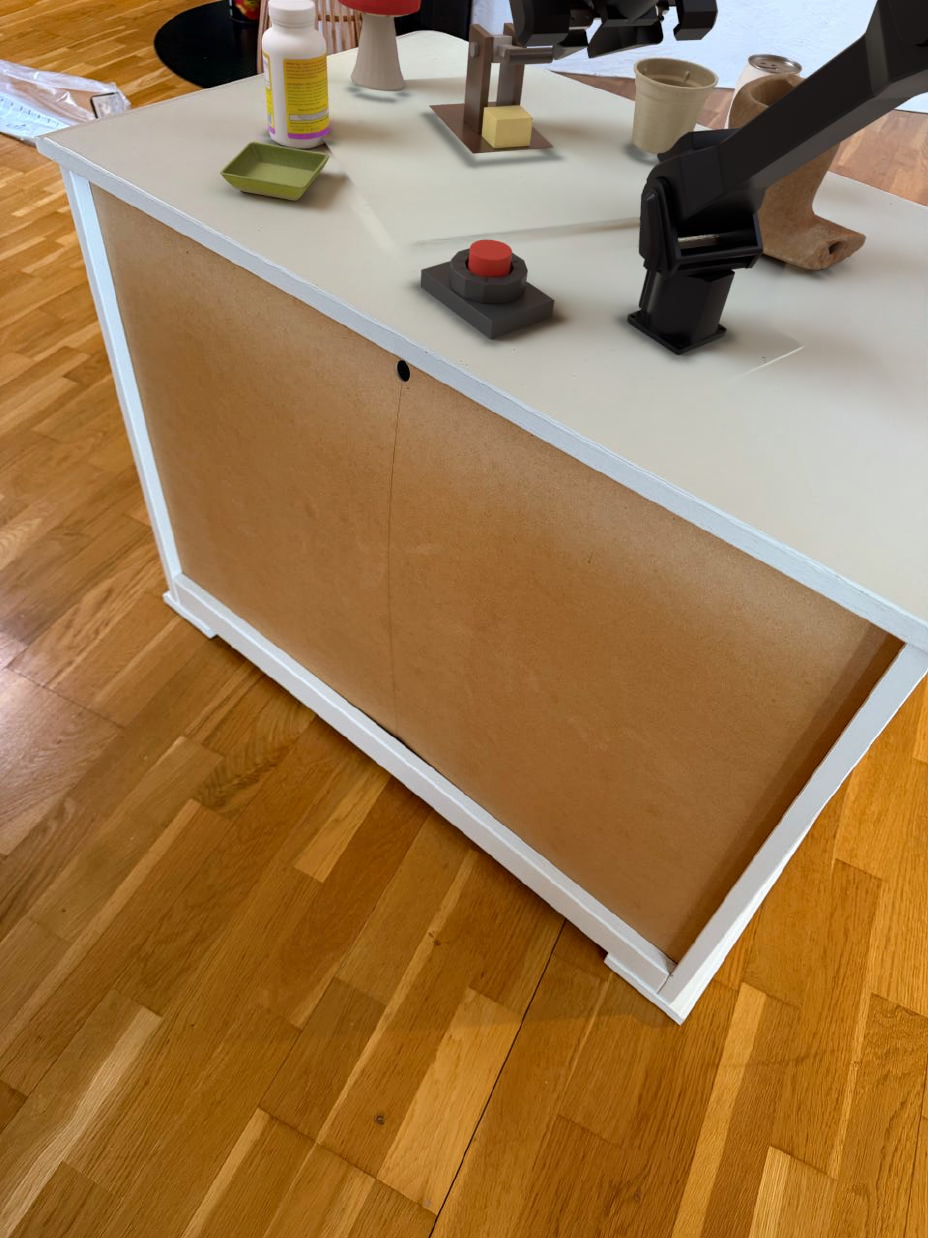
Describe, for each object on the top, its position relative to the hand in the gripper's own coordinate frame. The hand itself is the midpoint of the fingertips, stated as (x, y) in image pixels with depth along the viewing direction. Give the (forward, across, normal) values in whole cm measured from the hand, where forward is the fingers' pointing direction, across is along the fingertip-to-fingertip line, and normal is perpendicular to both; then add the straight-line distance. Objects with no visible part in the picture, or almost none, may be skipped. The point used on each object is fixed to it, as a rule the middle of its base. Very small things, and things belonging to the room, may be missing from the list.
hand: (571, 53), depth 84 cm
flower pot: (+16, -18, +4) cm, 24 cm away
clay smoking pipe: (-1, -18, +20) cm, 27 cm away
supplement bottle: (+24, +22, -4) cm, 32 cm away
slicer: (+21, 0, -2) cm, 22 cm away
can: (+10, -24, +10) cm, 27 cm away
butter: (+17, 0, 0) cm, 17 cm away
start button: (-5, +15, +20) cm, 25 cm away
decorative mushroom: (+32, +9, -13) cm, 36 cm away
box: (-3, +15, +22) cm, 27 cm away
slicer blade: (+13, 0, -6) cm, 14 cm away
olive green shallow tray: (+16, +27, +3) cm, 31 cm away
